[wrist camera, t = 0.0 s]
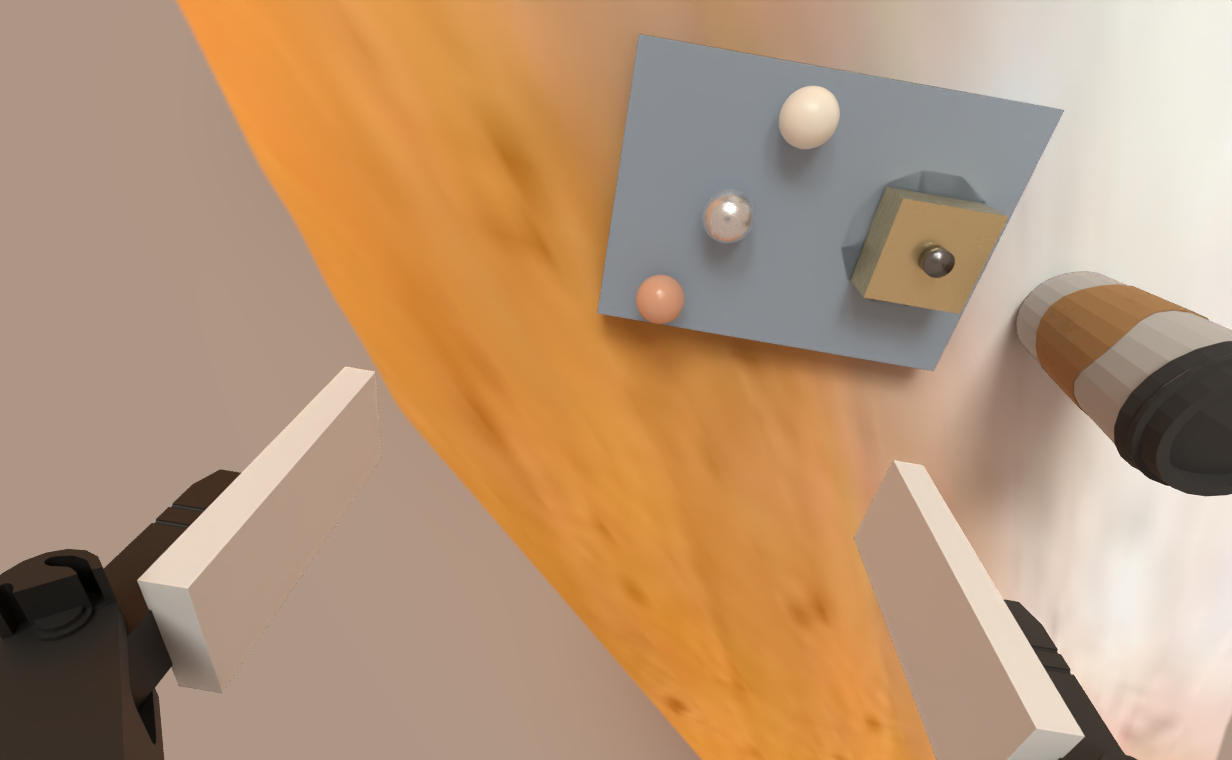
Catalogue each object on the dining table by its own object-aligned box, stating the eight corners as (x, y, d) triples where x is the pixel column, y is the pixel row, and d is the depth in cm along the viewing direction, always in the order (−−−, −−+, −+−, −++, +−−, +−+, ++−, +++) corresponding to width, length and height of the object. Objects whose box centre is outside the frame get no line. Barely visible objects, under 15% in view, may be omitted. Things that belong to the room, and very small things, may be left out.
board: (640, 34, 34) (639, 34, 32) (1039, 105, 35) (1064, 110, 33) (600, 299, 43) (597, 313, 41) (920, 354, 43) (933, 371, 41)
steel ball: (706, 179, 36) (709, 191, 33) (757, 188, 36) (765, 200, 33) (695, 230, 37) (697, 245, 35) (744, 238, 38) (750, 254, 35)
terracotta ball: (641, 263, 39) (639, 280, 36) (688, 271, 39) (690, 289, 36) (633, 307, 40) (631, 327, 38) (678, 315, 41) (679, 335, 38)
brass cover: (885, 186, 35) (909, 202, 32) (983, 203, 35) (1017, 221, 32) (850, 279, 38) (868, 303, 35) (940, 295, 38) (967, 321, 35)
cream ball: (784, 79, 33) (794, 83, 30) (840, 88, 33) (855, 93, 30) (767, 139, 34) (776, 148, 32) (821, 148, 34) (834, 158, 32)
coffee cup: (1054, 382, 44) (1217, 527, 31) (970, 329, 42) (1104, 459, 29) (1158, 292, 40) (1393, 415, 27) (1069, 230, 38) (1274, 330, 25)
